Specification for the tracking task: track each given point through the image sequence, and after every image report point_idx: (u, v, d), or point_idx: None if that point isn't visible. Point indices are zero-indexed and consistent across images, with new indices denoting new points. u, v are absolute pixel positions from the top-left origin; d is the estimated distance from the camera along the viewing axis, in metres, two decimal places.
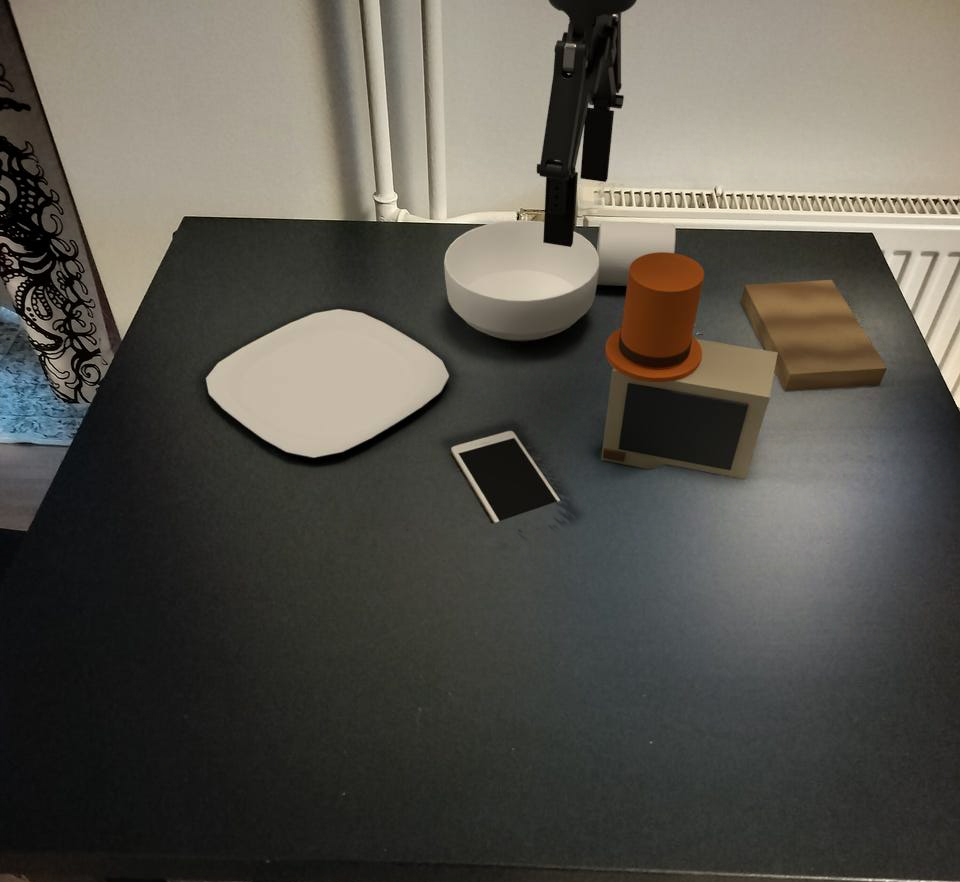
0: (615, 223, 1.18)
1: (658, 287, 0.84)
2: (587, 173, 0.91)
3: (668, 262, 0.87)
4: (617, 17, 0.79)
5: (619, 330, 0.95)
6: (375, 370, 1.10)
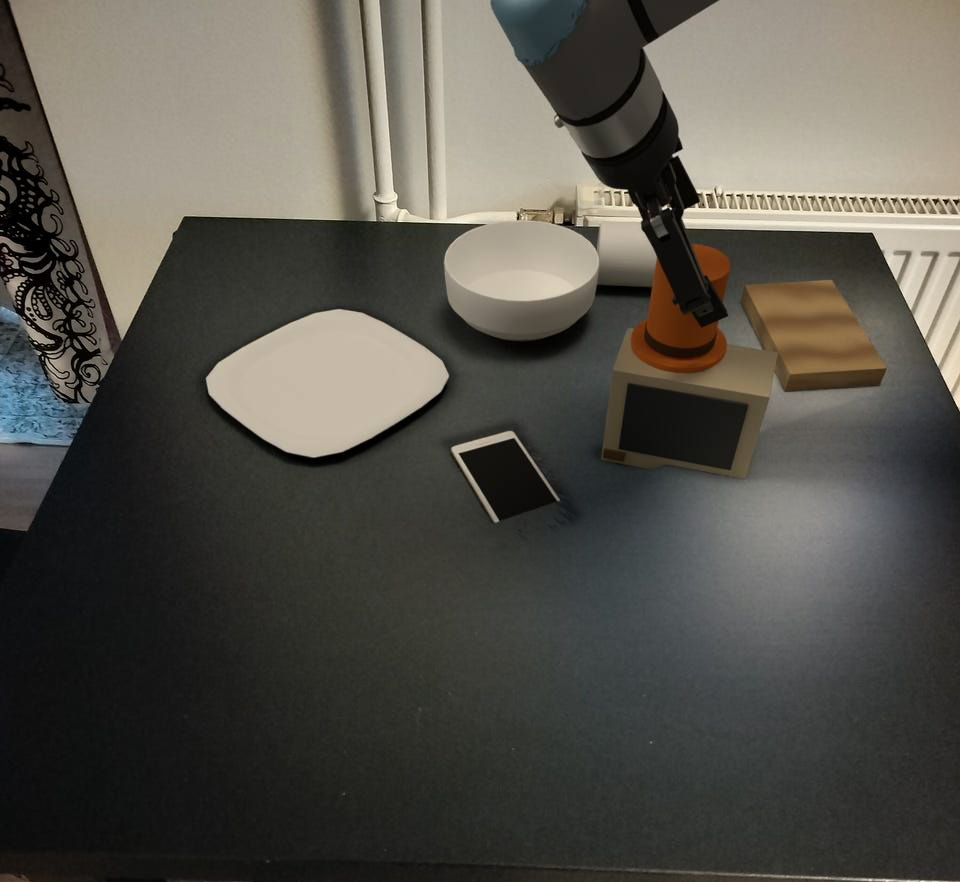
0: (615, 223, 1.18)
1: None
2: None
3: None
4: None
5: (639, 325, 0.95)
6: (375, 370, 1.10)
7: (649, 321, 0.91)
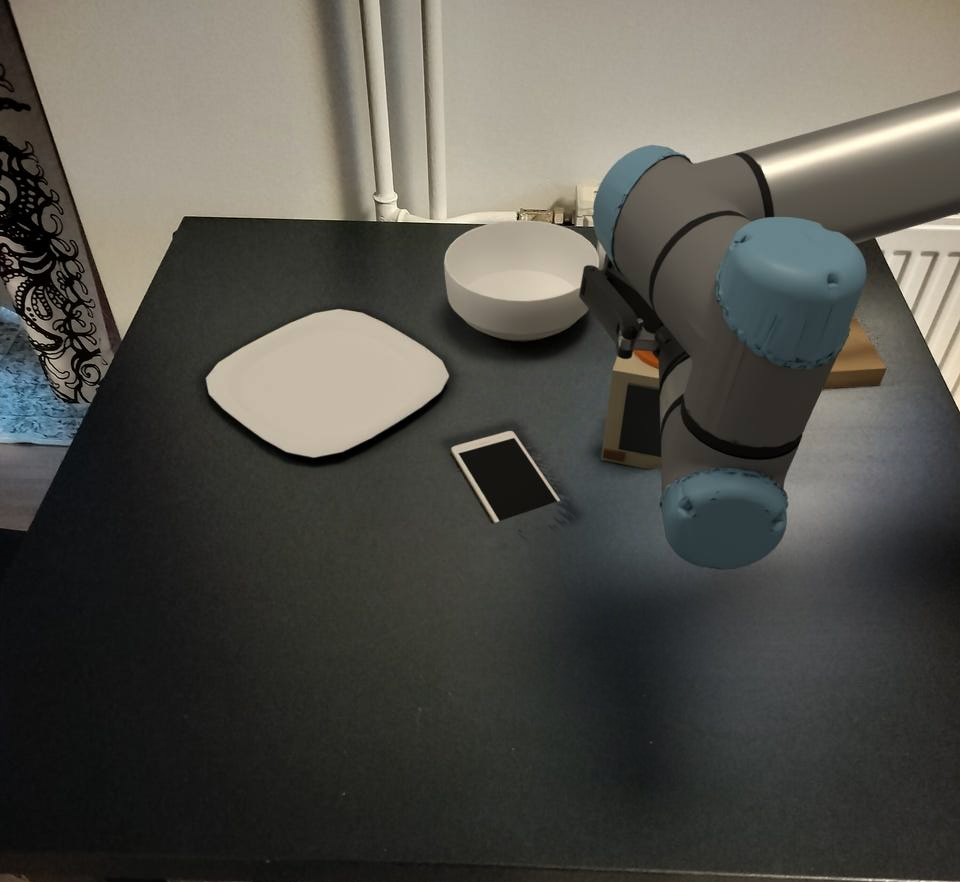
0: None
1: None
2: None
3: None
4: (640, 320, 0.68)
5: None
6: (375, 370, 1.10)
7: None
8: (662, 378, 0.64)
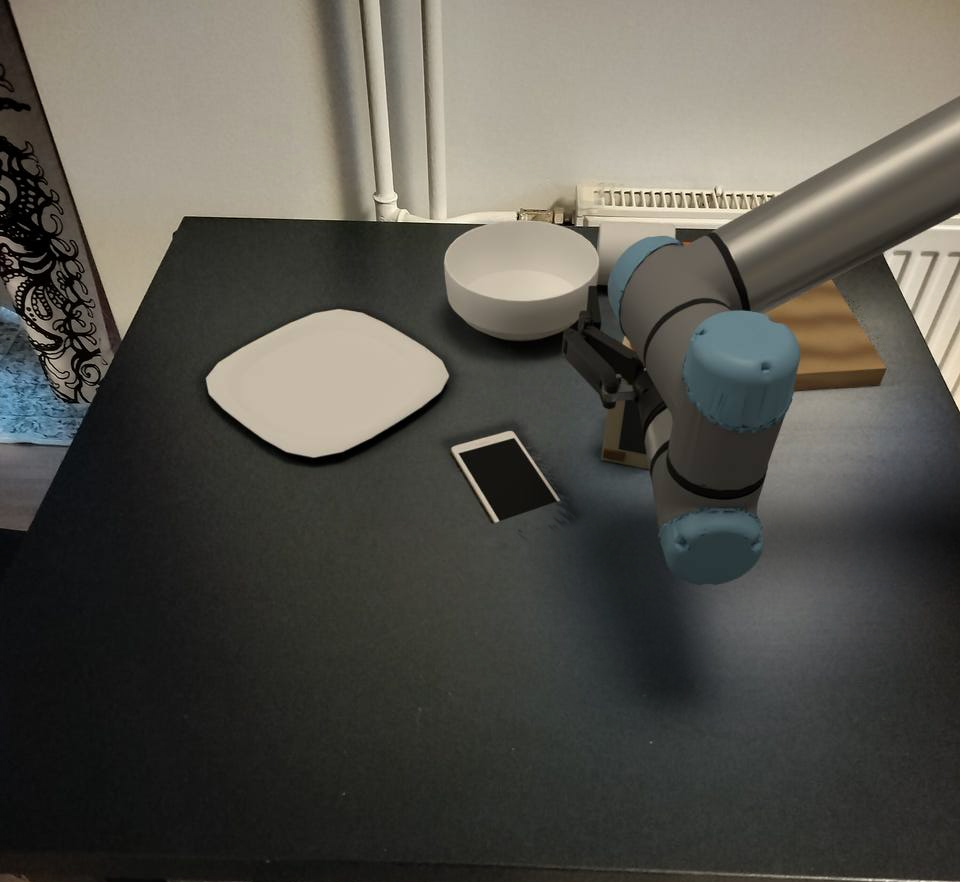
0: (615, 223, 1.18)
1: None
2: None
3: None
4: (618, 376, 0.80)
5: None
6: (375, 370, 1.10)
7: None
8: (644, 425, 0.77)
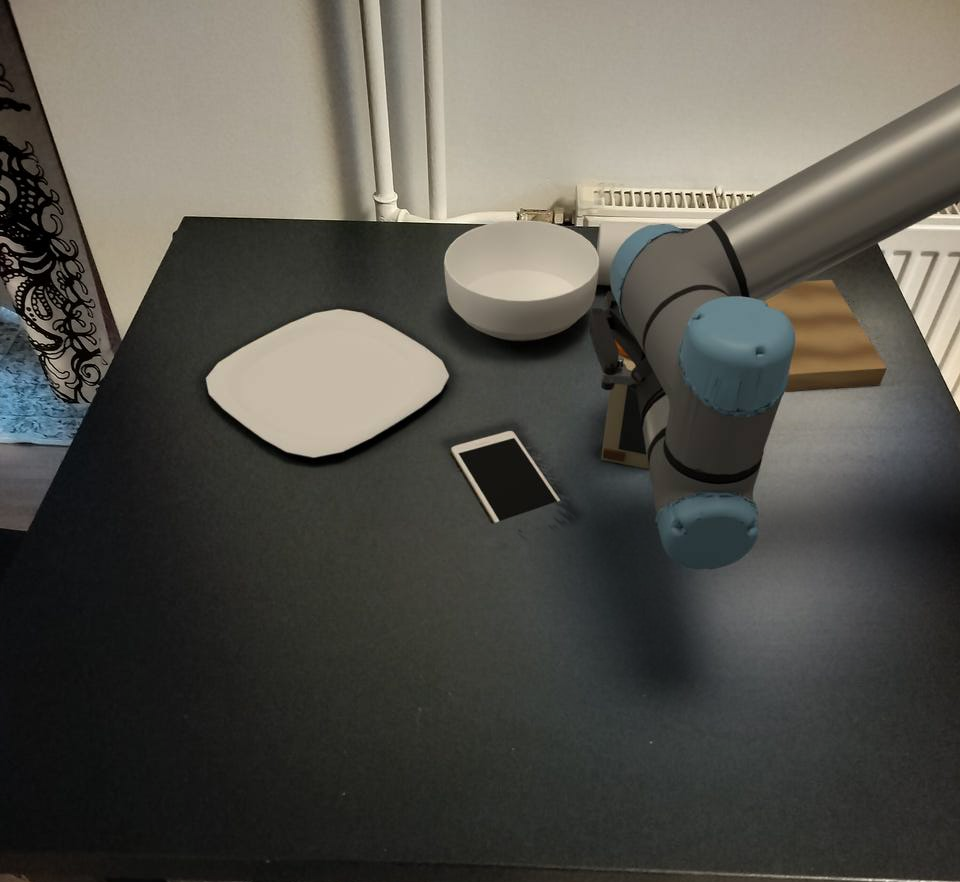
0: (615, 223, 1.18)
1: None
2: None
3: None
4: (620, 359, 0.81)
5: None
6: (375, 370, 1.10)
7: None
8: (642, 413, 0.78)
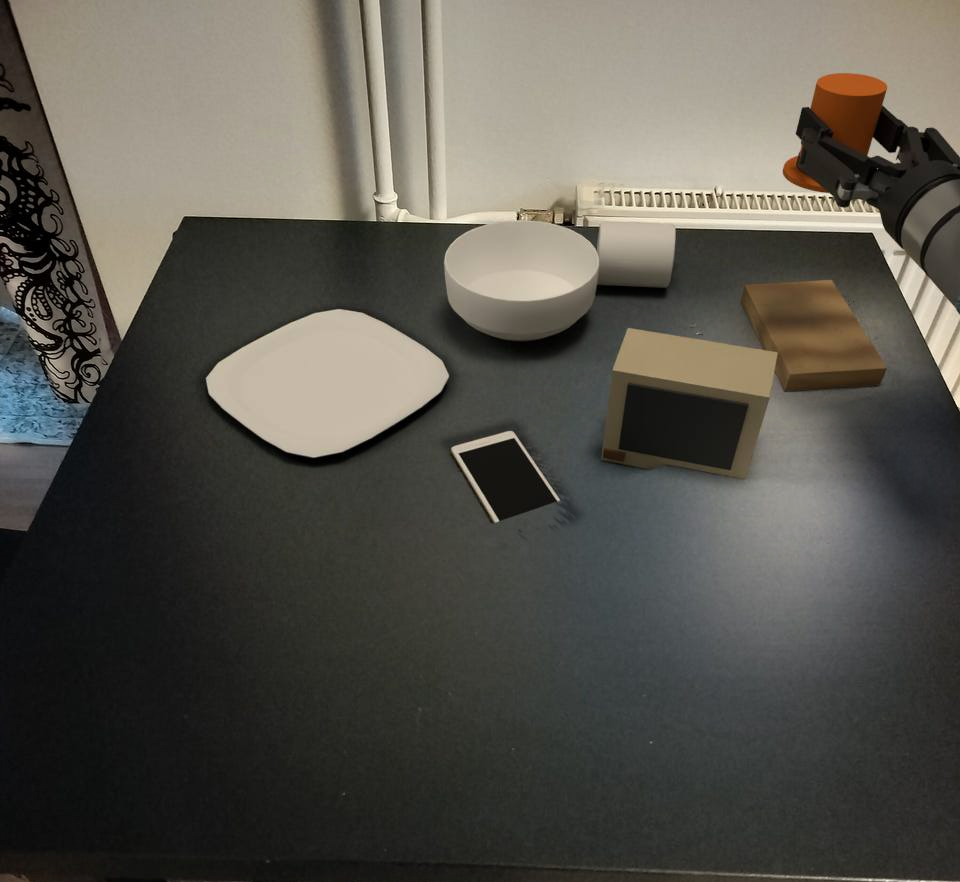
0: (615, 223, 1.18)
1: (862, 94, 0.92)
2: None
3: (844, 79, 0.95)
4: (856, 175, 0.87)
5: (786, 165, 1.02)
6: (375, 370, 1.10)
7: None
8: (898, 216, 0.84)
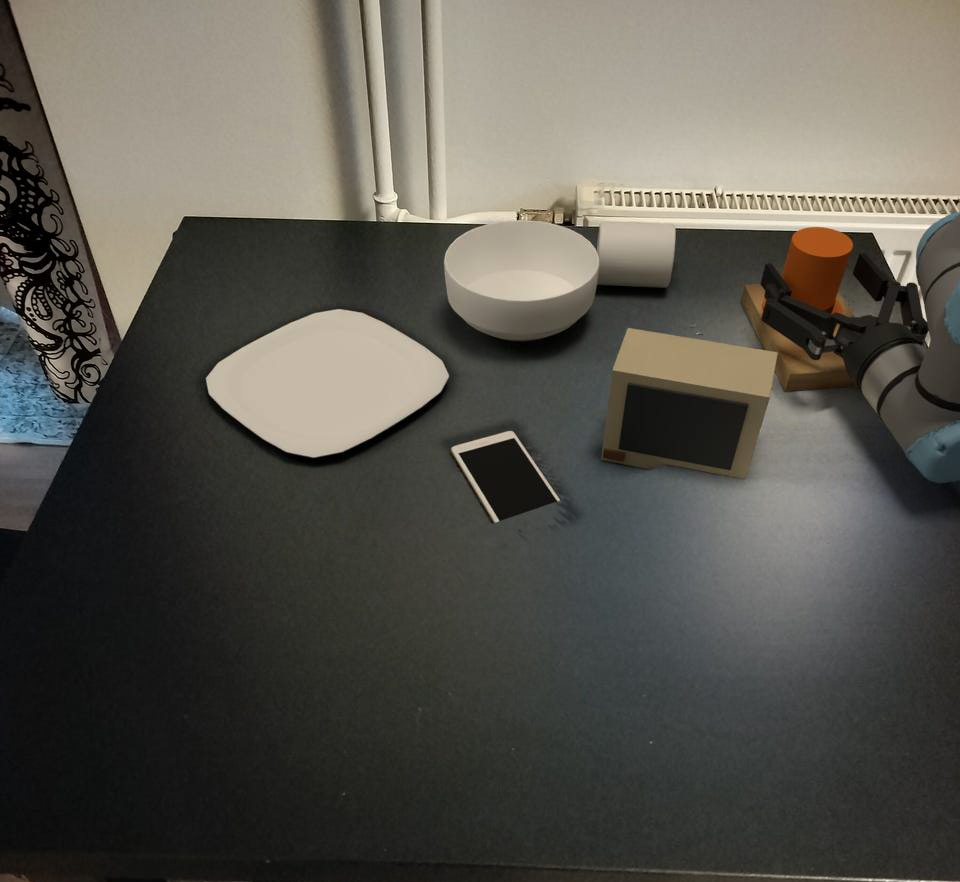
0: (615, 223, 1.18)
1: (831, 255, 1.06)
2: None
3: (816, 234, 1.09)
4: (823, 333, 1.00)
5: (765, 300, 1.15)
6: (375, 370, 1.10)
7: None
8: (859, 369, 0.98)
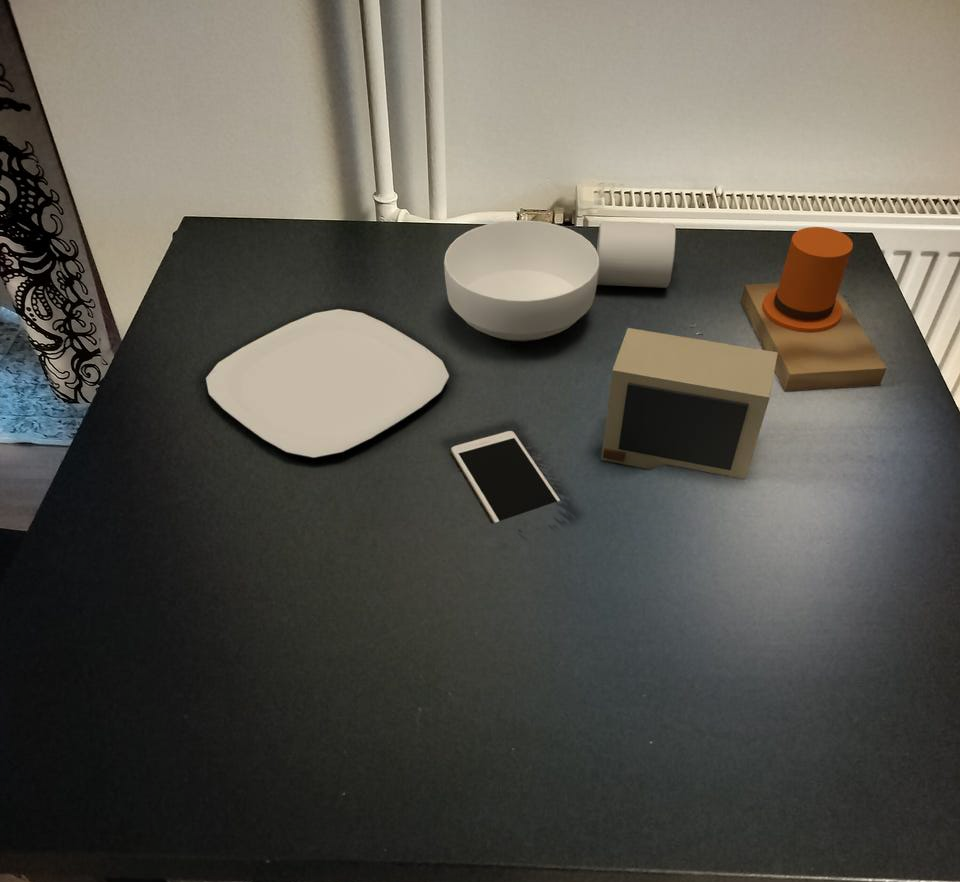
0: (615, 223, 1.18)
1: (831, 255, 1.06)
2: None
3: (816, 234, 1.09)
4: None
5: (765, 300, 1.15)
6: (375, 370, 1.10)
7: (785, 294, 1.11)
8: None
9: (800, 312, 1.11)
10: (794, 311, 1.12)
